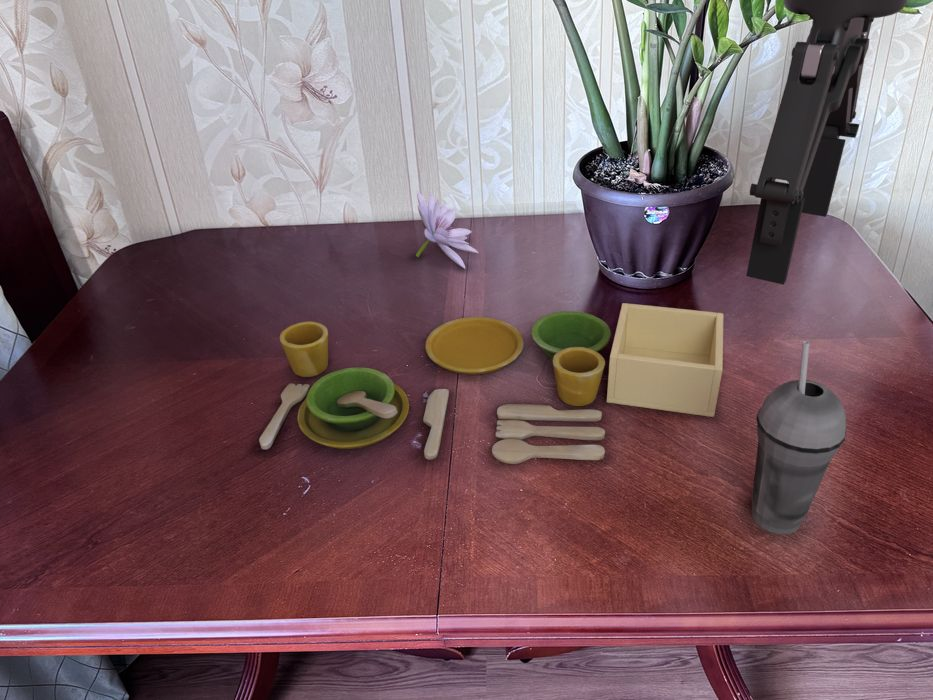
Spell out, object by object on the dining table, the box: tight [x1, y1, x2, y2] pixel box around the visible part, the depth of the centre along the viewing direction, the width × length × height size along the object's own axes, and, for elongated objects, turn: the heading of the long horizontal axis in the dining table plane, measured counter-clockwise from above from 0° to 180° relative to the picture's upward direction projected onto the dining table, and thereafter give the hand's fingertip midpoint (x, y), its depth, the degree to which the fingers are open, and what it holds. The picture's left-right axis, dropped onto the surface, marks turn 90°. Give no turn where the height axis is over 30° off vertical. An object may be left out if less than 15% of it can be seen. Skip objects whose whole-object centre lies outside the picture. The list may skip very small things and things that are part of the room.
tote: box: [606, 302, 724, 418], centre depth 87 cm, size 12×12×7 cm
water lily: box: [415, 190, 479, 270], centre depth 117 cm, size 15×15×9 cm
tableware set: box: [258, 310, 612, 465], centre depth 89 cm, size 41×28×6 cm
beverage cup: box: [750, 340, 847, 535], centre depth 65 cm, size 7×7×20 cm
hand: (789, 243), depth 59 cm, fingers open, 13 cm apart
